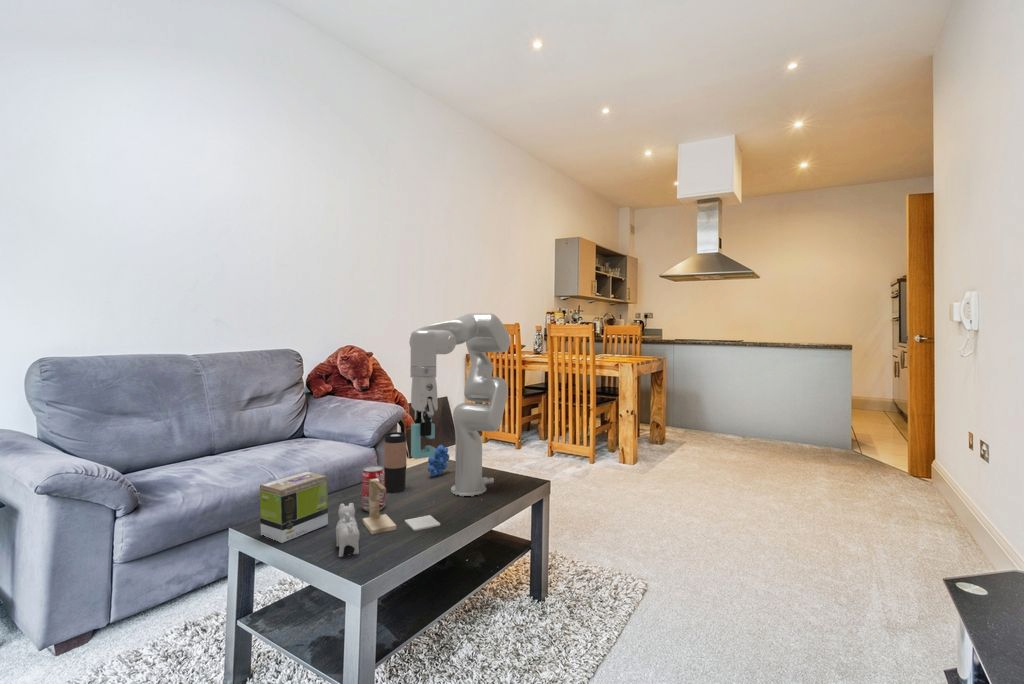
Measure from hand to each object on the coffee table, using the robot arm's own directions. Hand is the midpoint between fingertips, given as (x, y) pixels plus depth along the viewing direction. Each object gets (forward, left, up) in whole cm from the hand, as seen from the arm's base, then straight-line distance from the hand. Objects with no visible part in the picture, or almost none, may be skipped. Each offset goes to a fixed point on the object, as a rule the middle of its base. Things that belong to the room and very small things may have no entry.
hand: (423, 433), depth 143 cm
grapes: (-23, -43, -27) cm, 56 cm away
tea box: (+33, -13, -27) cm, 45 cm away
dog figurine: (+23, +5, -27) cm, 36 cm away
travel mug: (-3, -34, -27) cm, 44 cm away
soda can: (+9, -19, -27) cm, 34 cm away
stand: (+12, -4, -27) cm, 29 cm away
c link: (0, 0, -7) cm, 7 cm away
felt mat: (0, 0, -27) cm, 27 cm away
